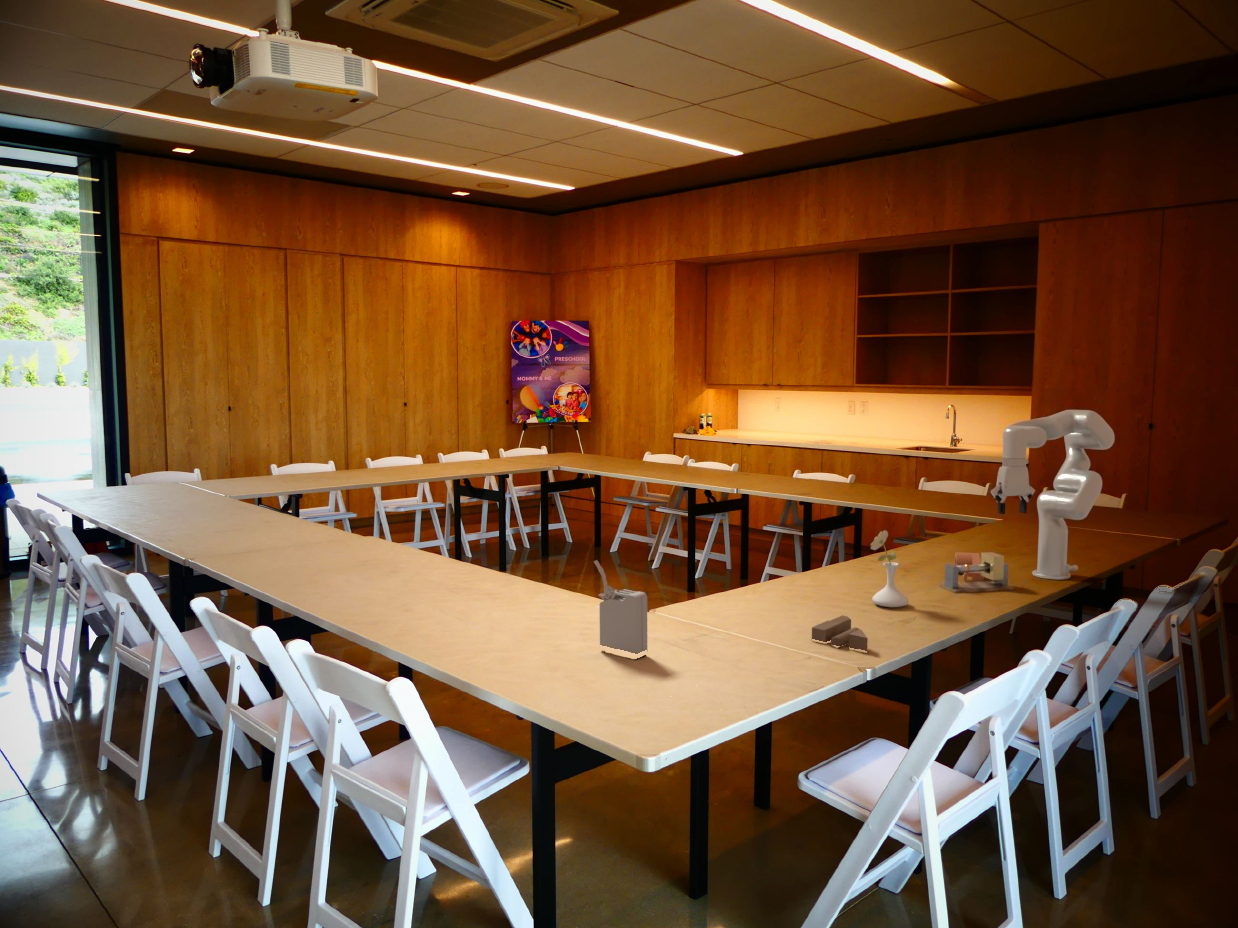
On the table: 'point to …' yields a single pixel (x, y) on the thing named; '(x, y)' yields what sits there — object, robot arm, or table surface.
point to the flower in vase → (888, 578)
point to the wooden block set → (840, 633)
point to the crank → (969, 560)
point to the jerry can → (623, 618)
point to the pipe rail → (953, 571)
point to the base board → (977, 587)
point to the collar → (993, 565)
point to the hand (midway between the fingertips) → (1012, 513)
